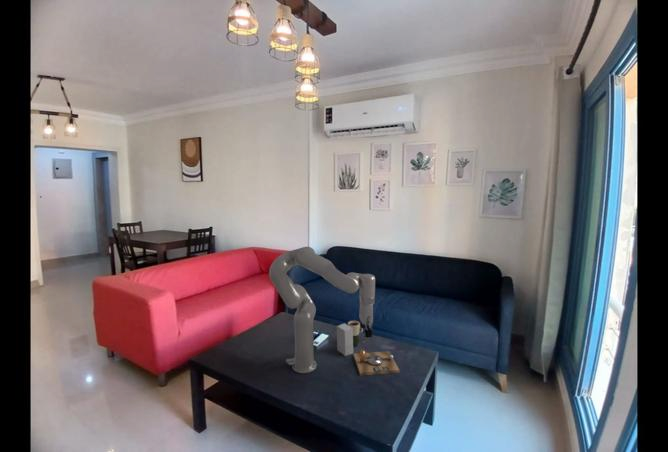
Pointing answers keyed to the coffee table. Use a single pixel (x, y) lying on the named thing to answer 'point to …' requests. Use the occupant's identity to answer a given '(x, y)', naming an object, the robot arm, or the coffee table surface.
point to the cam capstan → (372, 358)
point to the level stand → (383, 368)
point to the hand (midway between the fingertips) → (366, 332)
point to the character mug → (355, 331)
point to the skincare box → (345, 339)
